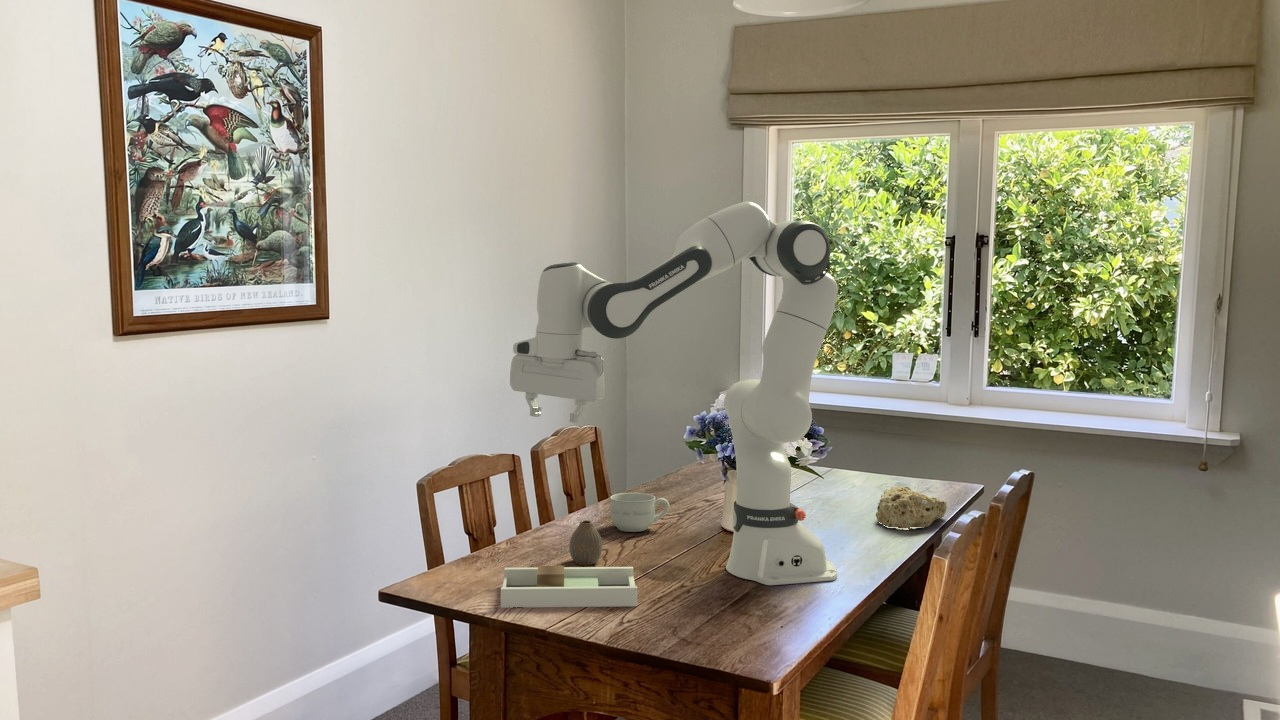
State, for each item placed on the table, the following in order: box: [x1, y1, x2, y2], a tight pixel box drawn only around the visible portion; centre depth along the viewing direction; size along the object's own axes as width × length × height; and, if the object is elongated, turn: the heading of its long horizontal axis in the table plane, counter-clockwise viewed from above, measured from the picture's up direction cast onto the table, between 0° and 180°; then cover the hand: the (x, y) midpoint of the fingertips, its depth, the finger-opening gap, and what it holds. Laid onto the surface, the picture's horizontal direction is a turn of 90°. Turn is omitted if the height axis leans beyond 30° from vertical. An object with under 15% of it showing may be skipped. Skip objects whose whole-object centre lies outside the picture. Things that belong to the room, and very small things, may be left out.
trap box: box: [500, 566, 639, 609], centre depth 184 cm, size 25×12×4 cm, turn 94°
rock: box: [875, 485, 948, 530], centre depth 239 cm, size 21×14×10 cm
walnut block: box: [537, 565, 565, 587], centre depth 184 cm, size 5×5×3 cm
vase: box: [568, 520, 603, 566], centre depth 204 cm, size 7×7×9 cm
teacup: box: [609, 492, 671, 533], centre depth 228 cm, size 14×11×8 cm
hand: (555, 419), depth 187 cm, fingers open, 8 cm apart
